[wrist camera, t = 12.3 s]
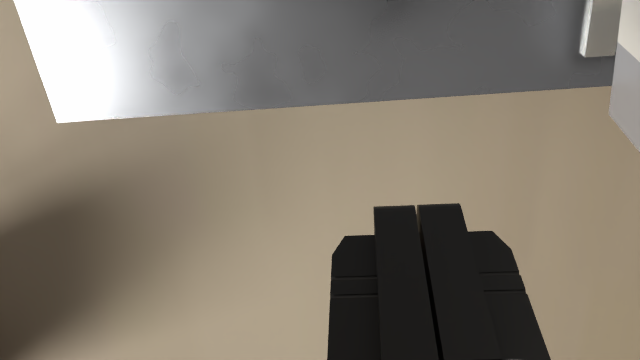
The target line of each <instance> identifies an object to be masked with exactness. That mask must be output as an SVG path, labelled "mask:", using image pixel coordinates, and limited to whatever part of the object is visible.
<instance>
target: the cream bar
mask: <svg viewBox="0 0 640 360" xmlns="http://www.w3.org/2000/svg"><path fill="white" fill-rule="evenodd" d="M609 115H610V116H611V118H612V119H613V120H614V121H615V123H616V124H617V125H618V126H619V127H620V129H621V130H622V131H623V132H624V134H625V135H626V136H627V137H628V139H629V140H630V141H631V142H632V143H633V145H634V146H635V147H636V148H637V150H638V151H639V152H640V0H622V7H621V15H620V24H619V32H618V40H617V49H616V57H615V65H614V74H613V82H612V90H611V99H610V107H609Z"/></svg>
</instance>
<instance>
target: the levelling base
mask: <svg viewBox="0 0 640 360" xmlns="http://www.w3.org/2000/svg"><path fill="white" fill-rule="evenodd" d="M14 2H15V5H16V8H17V10H18V13H19V16H20V19H21V22H22V24H23V27H24V30H25V33H26V36H27V39H28V41H29V44H30V47H31V50H32V53H33V56H34V58H35V61H36V64H37V67H38V70H39V72H40V75H41V78H42V81H43V84H44V87H45V89H46V92H47V95H48V98H49V101H50V104H51V106H52V109H53V112H54V115H55V118H56V120H57V123H60V122H75V121H90V120H105V119H120V118H135V117H150V116H165V115H180V114H195V113H210V112H225V111H240V110H255V109H270V108H285V107H300V106H315V105H330V104H345V103H360V102H375V101H390V100H405V99H420V98H435V97H450V96H465V95H480V94H495V93H510V92H525V91H540V90H555V89H570V88H585V87H600V86H612V82H613V74H614V65H615V57H616V49H617V40H618V32H619V24H620V15H621V7H622V0H14Z"/></svg>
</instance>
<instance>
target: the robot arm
mask: <svg viewBox="0 0 640 360" xmlns="http://www.w3.org/2000/svg"><path fill="white" fill-rule="evenodd" d="M374 234H375V235H360V236H345V237H344V238H343V240H342V241H341V243H340V244H339V246H338V247H337V249H336V250H335V252H334V253H333V254H332V269H331V291H330V313H329V335H328V357H327V360H551V359H550V356H549V354H548V351H547V348H546V345H545V342H544V340H543V337H542V334H541V331H540V328H539V326H538V323H537V320H536V317H535V314H534V312H533V309H532V306H531V303H530V300H529V298H528V295H527V294H526V292H525V287H524V284H523V281H522V278H521V275H519V270H518V267H517V264H516V261H515V259H514V256H513V253H512V250H511V249H510V248H509V247H508V246H507V245H506V244H505V243H504V242H503V241H502V240H501V239H500V238H499V237H498V236H497V235H496V234H495V233H494V232H493V231H474V232H468V231H467V227H466V224H465V220H464V216H463V213H462V209H461V206H460V204H459V203H457V204H430V205H417V216H416V210H415V206H414V205H408V206H381V207H374Z"/></svg>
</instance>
